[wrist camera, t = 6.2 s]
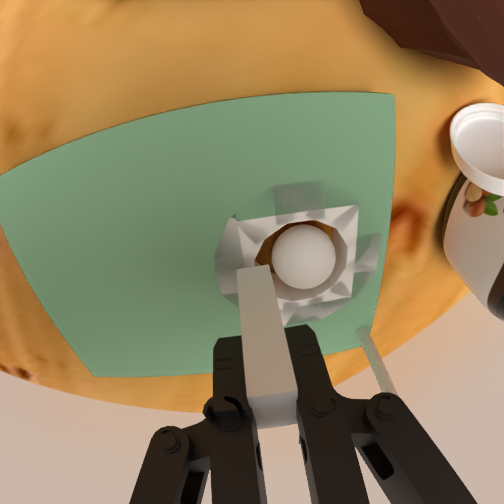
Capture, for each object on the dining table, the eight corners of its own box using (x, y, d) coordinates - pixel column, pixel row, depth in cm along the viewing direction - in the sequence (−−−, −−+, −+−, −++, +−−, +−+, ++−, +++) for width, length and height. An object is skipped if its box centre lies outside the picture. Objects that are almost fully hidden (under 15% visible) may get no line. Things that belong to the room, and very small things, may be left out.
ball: (251, 236, 15) (301, 228, 13) (293, 222, 18) (340, 215, 15) (267, 297, 16) (316, 301, 13) (305, 276, 18) (352, 276, 15)
